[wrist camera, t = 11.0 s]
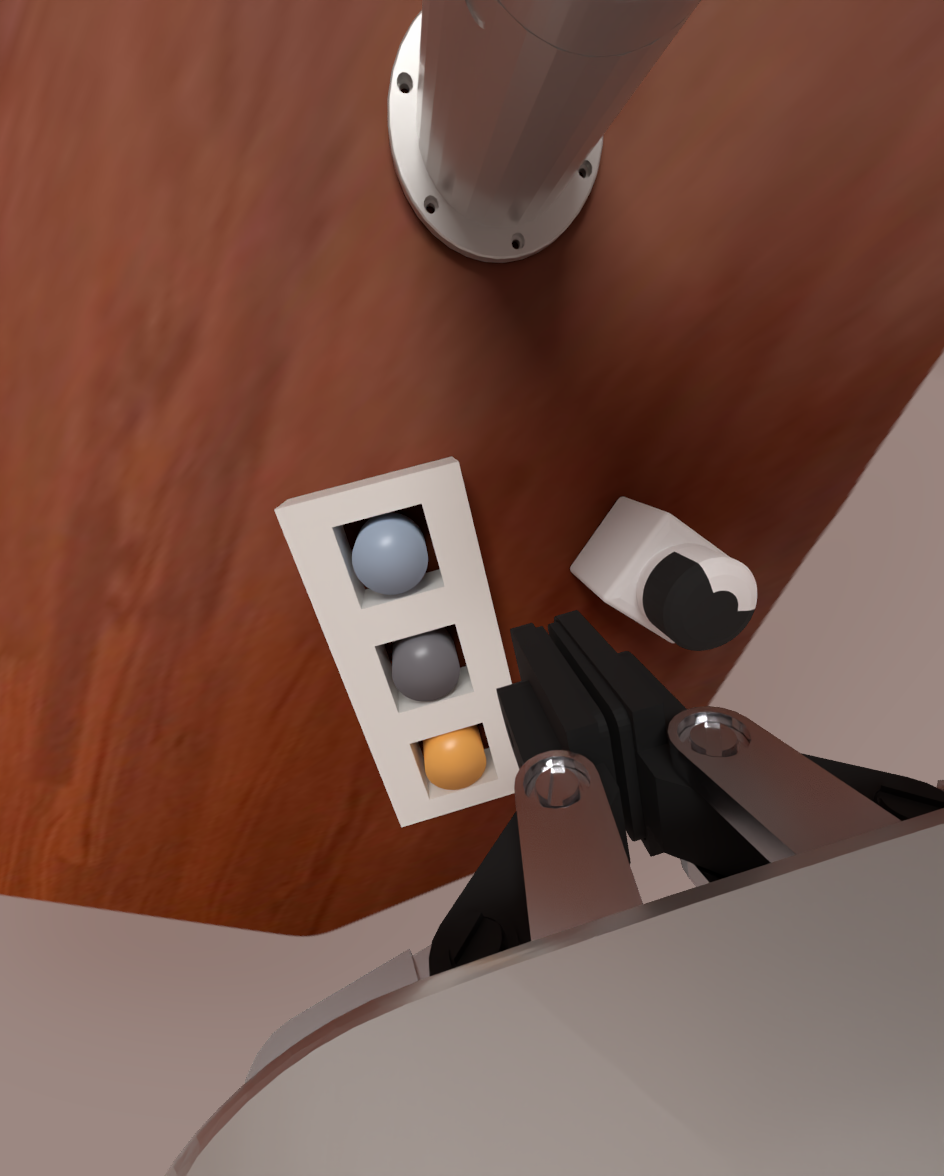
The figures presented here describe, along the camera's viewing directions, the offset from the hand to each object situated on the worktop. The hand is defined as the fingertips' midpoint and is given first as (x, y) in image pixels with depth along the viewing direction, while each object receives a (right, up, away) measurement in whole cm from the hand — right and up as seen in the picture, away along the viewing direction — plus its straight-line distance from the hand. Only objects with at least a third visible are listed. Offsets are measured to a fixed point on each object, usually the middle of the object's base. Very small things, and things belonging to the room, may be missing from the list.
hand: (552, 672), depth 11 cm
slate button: (-8, +5, +23) cm, 25 cm away
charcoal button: (-6, -3, +26) cm, 27 cm away
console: (-6, -3, +27) cm, 28 cm away
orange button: (-4, -11, +30) cm, 32 cm away
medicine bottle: (+11, +5, +27) cm, 30 cm away
